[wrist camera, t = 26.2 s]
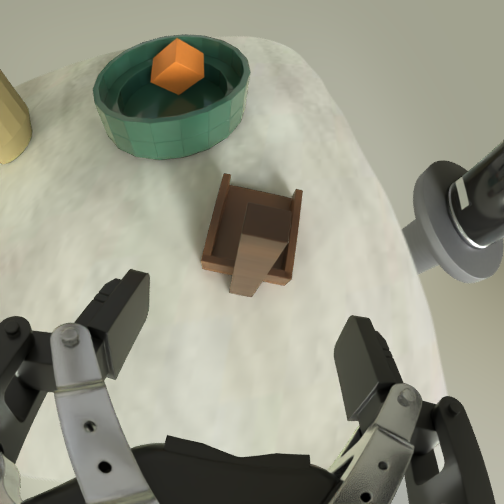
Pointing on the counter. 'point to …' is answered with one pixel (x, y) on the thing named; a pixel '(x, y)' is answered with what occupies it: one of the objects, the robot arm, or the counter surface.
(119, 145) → the green pet bowl
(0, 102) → the squeeze bottle
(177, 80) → the block
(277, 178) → the counter surface
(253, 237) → the scoop
